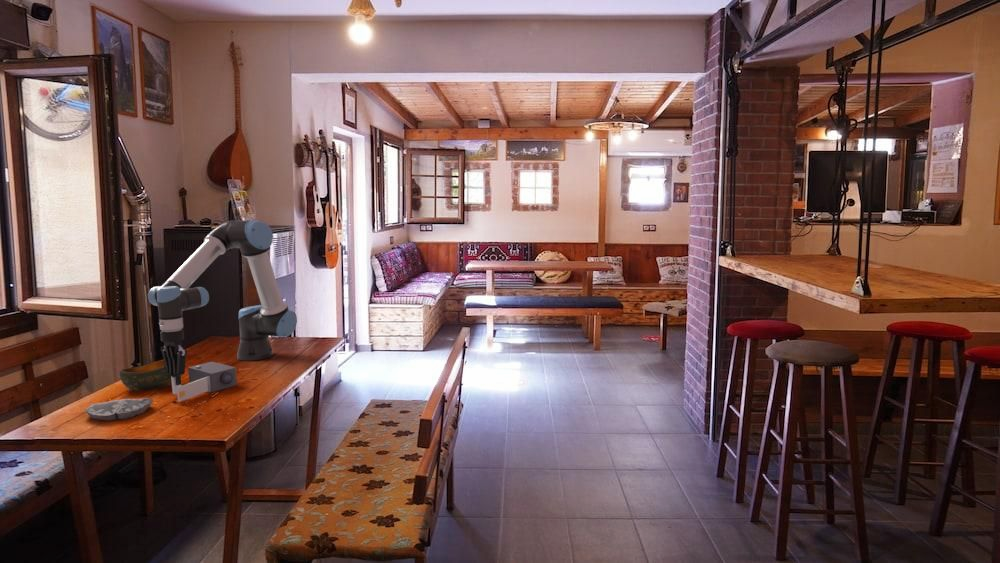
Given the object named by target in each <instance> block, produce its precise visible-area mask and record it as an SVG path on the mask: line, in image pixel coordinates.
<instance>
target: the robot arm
mask: <svg viewBox="0 0 1000 563" xmlns="http://www.w3.org/2000/svg"><path fill="white" fill-rule="evenodd" d="M273 239H274V236H273V230H272V228H271V227H270V226H269V224H267V223H266V222H264V221H261V220H256V219H251V220H250V219H249V220H242V219H241V220H236V219H235V220H232V219H231V220H227V221H225V222H223V223H221V224H220V225H218V226H217V227H215V228H214V229H213V230H211V231H210V232H209V233H208V234H207V235H206V236H205V237H204V238H203V243H202V244H201V245H200V246H199V247H198V248H197V249H196V250H195V251H194V252H193V253H192V254H191V255H190V256H189V257H188V258H187V259H186V260H185V261H184V262H183V264H182V265H180V266H179V267H178V269H176V271H175V272H173V274H172V275H171V276H170V277H169V278H168V279H167V280H166V281H164V283H162V285H158V286H153V287H151V288H150V289H149V291H148V293H147V299H148V301H149V303H150V304H151V305H153V306H156V307H157V311H158V321H159V322H158V324H159V330H160V341H161V342H162V343H164V345H163V346H161V347H160V351H161V354H162V357H163V359H164V363H165V367H166V372H167V373H169V374H170V376H171V382H172V385H171V389H172V394H173V395H177V387H179V386H182V385H183V384H182V376H183V375H185V374H186V359H187V354H188V350H187V349H184V348H183V344H182V341H183V340H184V339H185V331H184V318H183V316H184V315H183V312H184V311H188V310H193V309H198V308H199V309H200V308H202V307H204V306H206V305H207V304H208V303H209V301H210V295H209V292H208V290H207V289H206V288H205V287H202V286H194V287H191V286H192V285H193V283H195V281H196V280H198V278H199V277H200V276H201V275H202V274H203V273H204V272H205V271H206V270H207V268H209V266H210V265H211V264H213V262H214V261H215V260H217V258H218V257H219V256H221V255H224V254H225V253H226V252H227V251H229V250H231V249H239V250H240V253H241V256H242V257H244V258H245V259H247V263H248V266H249V269H250V272H251V276H252V278H253V282H254V285H255V287H256V292H257V294H258V297H259V298H258V299H259V301H260V304H259V305H258V304H257V305H253V306H252V305H251V306H247V307H243V308H241V309H239V311H238V327H239V328H238V330H239V345H238V349H237V353H236V357H237V360H238V361H239V360H240V361H245V362H246V361H260V360H265V359H268V358H271V357H272V356H273V355H274V351H273V348H272V345H271V343H270V340H269V338H268V336H270V337H271V336H272V337H279V338H282V337H284V338H286V337H289V336H291V335H292V334H293V333H294V332H295V329H296V327H297V324H298V323H297V322H298V317H297V314H296V312H294V311H293V310H291V309H289V306H288V303H287V302H285V301H283V299H282V296H281V292H280V289H279V286H278V283H277V280H276V274H275V272H274V270H273V265H272V262H271V259H270V256H269V252H270V251H271V247H272V244H273Z"/></svg>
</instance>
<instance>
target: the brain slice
mask: <svg viewBox="0 0 1000 563" xmlns="http://www.w3.org/2000/svg"><path fill="white" fill-rule="evenodd" d="M152 403H153V398H152V397H151V398H150V397H146V398H145V397H144V398H123V399H115V400H109V401H104V402H98V403H93V404H91V405H89V406H88V407H87V408H86V409H85V410H84V412H85V413H87V415H88V416H89V417H90V418H92V419H93V420H99V419H100V420H101V421H116V420H126V419H131V418H133V417H136V416H139V415H141V414H143V413H145V412H146V410H147V409H149V407H150V406H151V404H152Z"/></svg>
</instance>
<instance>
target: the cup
mask: <svg viewBox="0 0 1000 563" xmlns="http://www.w3.org/2000/svg"><path fill="white" fill-rule="evenodd" d="M119 377H120V382H121V383H122V384H123V385H124V387H126V388H127V389H128V390H129V391H130V392H145V391H146V392H147V391H153V390H155V391H156V390H160V389H163V388H168V387H171V386H172V382H171V376H170V374H169V373H167V372H166V367H165V363H164V358H163V359H161V360H158V361H155V362H151V363H149V364H146V365H140V366H134V367H128V368H122V369H120V370H119Z"/></svg>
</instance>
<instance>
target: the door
mask: <svg viewBox="0 0 1000 563" xmlns="http://www.w3.org/2000/svg"><path fill="white" fill-rule="evenodd" d="M181 385H182V386H179V387H177V394H176V395H177V397H176V398H177V402H179V403H180V402H183V401H186V400H188V399H191V398H194V397H196V396H199V395H201V394H204V393H206V392H207V393H211V386H210V376H207V377H205V378H202V379H199V380H196V381H193V382H191V383H189V382H188V383H185V384H181Z"/></svg>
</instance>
